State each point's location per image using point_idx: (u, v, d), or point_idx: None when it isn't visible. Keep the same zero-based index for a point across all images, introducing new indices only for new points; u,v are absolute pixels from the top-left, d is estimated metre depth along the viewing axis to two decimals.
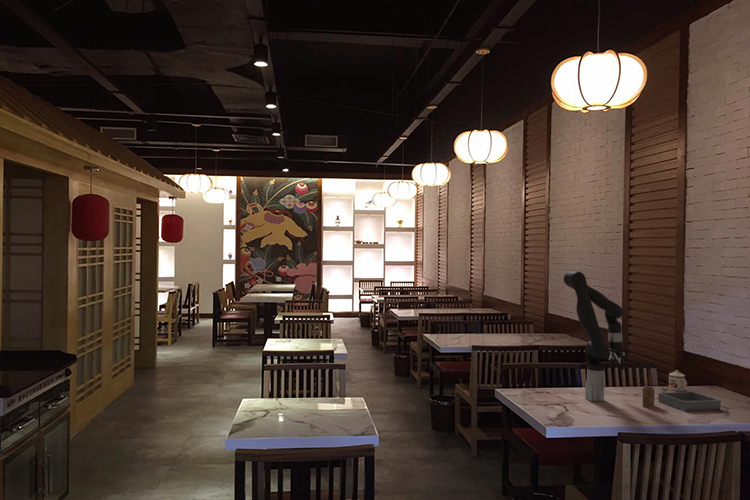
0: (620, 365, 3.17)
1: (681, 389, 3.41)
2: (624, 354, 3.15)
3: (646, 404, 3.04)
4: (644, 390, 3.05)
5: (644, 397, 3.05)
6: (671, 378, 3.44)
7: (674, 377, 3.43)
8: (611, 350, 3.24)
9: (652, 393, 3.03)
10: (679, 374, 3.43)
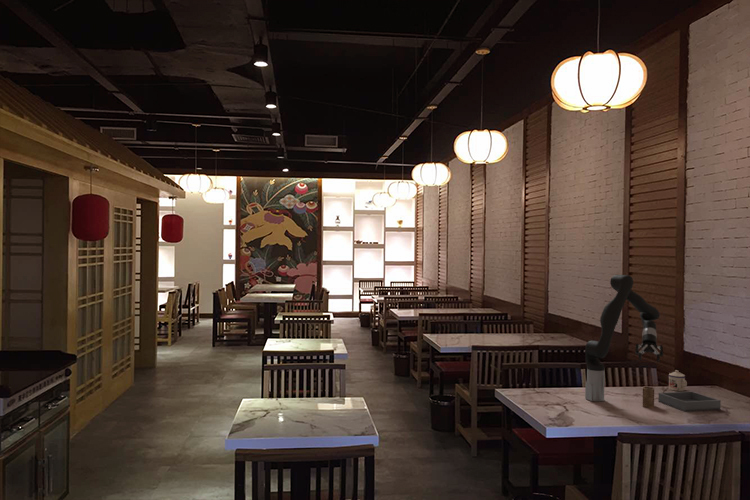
0: (658, 356, 3.16)
1: (681, 389, 3.41)
2: (662, 348, 3.20)
3: (646, 404, 3.04)
4: (644, 390, 3.05)
5: (644, 397, 3.05)
6: (671, 378, 3.44)
7: (674, 377, 3.43)
8: (644, 344, 3.24)
9: (652, 393, 3.03)
10: (679, 374, 3.43)
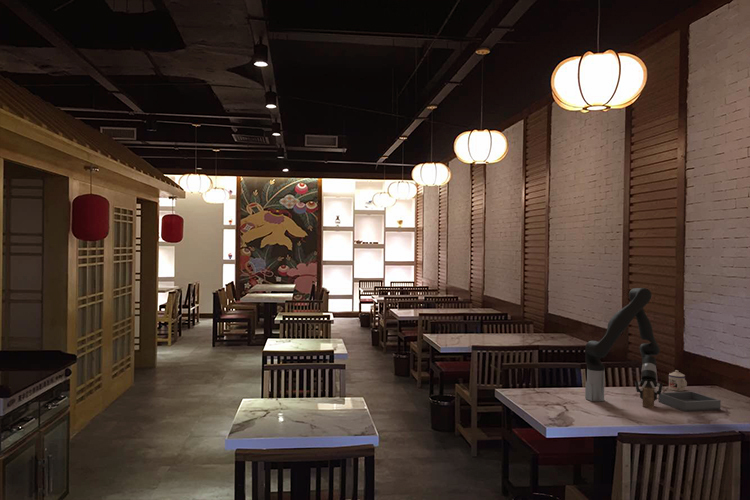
0: (655, 394, 3.05)
1: (681, 389, 3.41)
2: None
3: (646, 404, 3.04)
4: (644, 390, 3.05)
5: (644, 397, 3.05)
6: (671, 378, 3.44)
7: (674, 377, 3.43)
8: (643, 380, 3.12)
9: (652, 393, 3.03)
10: (679, 374, 3.43)
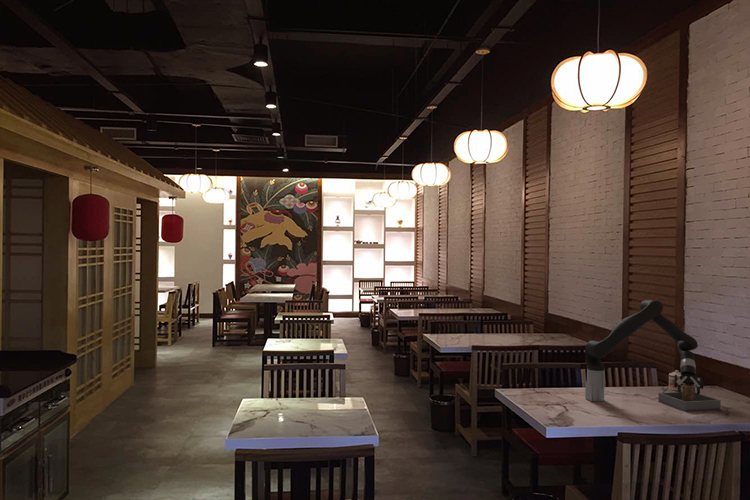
0: (698, 389, 3.06)
1: (681, 389, 3.41)
2: (702, 380, 3.10)
3: None
4: (685, 388, 3.07)
5: (685, 395, 3.07)
6: (671, 378, 3.44)
7: (674, 377, 3.43)
8: (683, 376, 3.14)
9: (693, 391, 3.05)
10: (679, 374, 3.43)
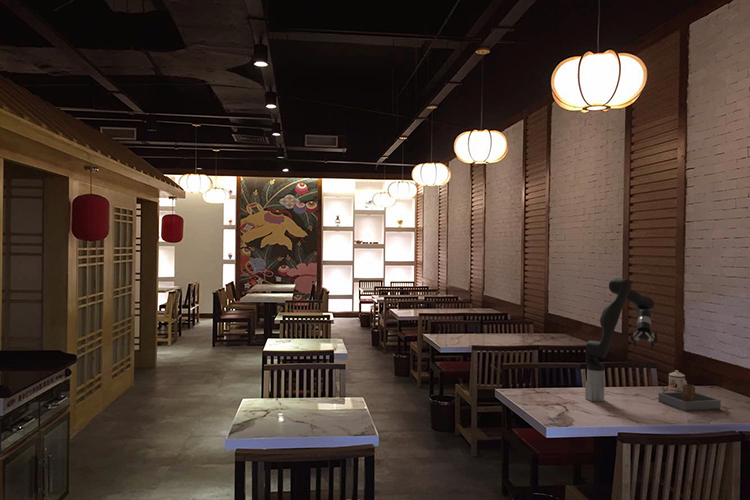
0: (652, 343, 3.28)
1: (681, 389, 3.41)
2: (656, 335, 3.32)
3: None
4: (685, 388, 3.07)
5: (685, 395, 3.07)
6: (671, 378, 3.44)
7: (674, 377, 3.43)
8: (639, 332, 3.36)
9: (693, 391, 3.05)
10: (679, 374, 3.43)
